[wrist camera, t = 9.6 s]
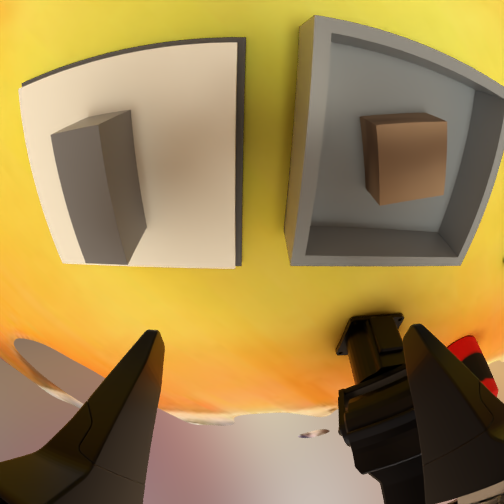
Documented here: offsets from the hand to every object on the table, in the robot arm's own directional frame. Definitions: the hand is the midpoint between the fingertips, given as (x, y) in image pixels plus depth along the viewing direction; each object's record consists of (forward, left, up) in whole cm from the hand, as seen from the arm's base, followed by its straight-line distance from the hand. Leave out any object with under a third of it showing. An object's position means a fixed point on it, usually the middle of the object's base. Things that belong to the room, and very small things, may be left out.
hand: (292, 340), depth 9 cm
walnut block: (+4, -8, -11) cm, 14 cm away
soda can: (-24, -32, -12) cm, 42 cm away
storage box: (+4, -8, -12) cm, 15 cm away
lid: (+2, +10, -11) cm, 15 cm away
